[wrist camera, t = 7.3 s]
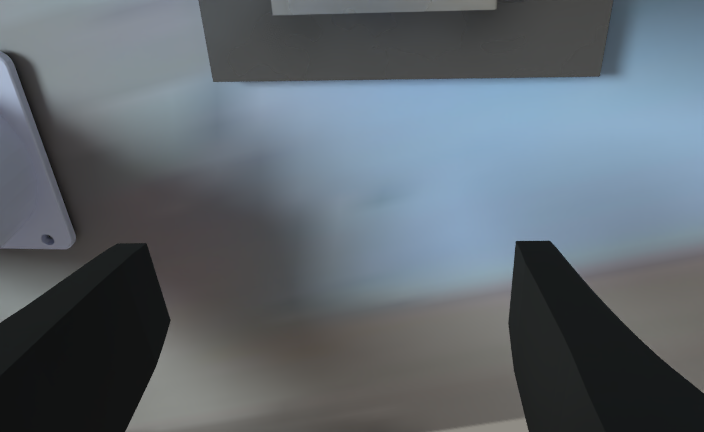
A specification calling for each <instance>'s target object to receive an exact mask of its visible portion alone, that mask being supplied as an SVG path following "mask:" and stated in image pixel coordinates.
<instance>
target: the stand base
mask: <svg viewBox="0 0 704 432" xmlns="http://www.w3.org/2000/svg"><path fill="white" fill-rule="evenodd" d="M612 5H613V0H497V9H495V10H462V11H423V12H384V13H345V14H306V15H273V13H272V5H271V0H199V6H200V11H201V17H202V22H203V28H204V33H205V39H206V44H207V50H208V55H209V61H210V67H211V72H212V78H213V82H238V81H310V80H381V79H453V78H524V77H595V76H600V72H601V66H602V61H603V55H604V50H605V44H606V38H607V33H608V27H609V21H610V16H611V10H612Z"/></svg>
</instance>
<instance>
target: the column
mask: <svg viewBox="0 0 704 432" xmlns="http://www.w3.org/2000/svg"><path fill="white" fill-rule="evenodd" d="M271 5H272V13H273V15H306V14H345V13H384V12H423V11H462V10H495V9H497V0H271Z"/></svg>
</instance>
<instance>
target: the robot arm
mask: <svg viewBox="0 0 704 432" xmlns="http://www.w3.org/2000/svg"><path fill="white" fill-rule="evenodd" d="M47 235H50V236H51V237H52V238H53V239H51V238H49V237H48V236H47ZM75 241H76V235H75V232H74V229H73V227H72V224H71V221H70V218H69V215H68V213H67V210H66V207H65V204H64V202H63V199H62V196H61V193H60V190H59V188H58V185H57V182H56V179H55V177H54V174H53V171H52V168H51V165H50V163H49V160H48V157H47V154H46V152H45V149H44V146H43V143H42V140H41V138H40V135H39V132H38V129H37V127H36V124H35V121H34V118H33V115H32V113H31V110H30V107H29V104H28V102H27V99H26V96H25V93H24V90H23V88H22V85H21V82H20V79H19V77H18V74H17V71H16V68H15V65H14V63H13V62H12V60H11V58H10V57H9V56H8V55H7V54H5V53H3V52H1V51H0V249H1V248H6V249H69V248H70V247H71V246H72V245H73V244H74V243H75ZM169 324H170V317H169V314H168V311H167V308H166V304H165V301H164V298H163V295H162V292H161V288H160V285H159V282H158V279H157V276H156V272H155V269H154V266H153V263H152V259H151V256H150V253H149V250H148V247H147V243H134V244H116V245H115V246H113V247H111V248H109V249H108V250H106V251H105V252H103V253H102V254H100V255H99V256H97V257H96V258H94V259H93V260H91V261H90V262H88V263H87V264H85V265H84V266H83V267H81V268H80V269H78V270H77V271H75V272H74V273H73V274H71V275H70V276H68V277H67V278H66V279H64V280H63V281H61V282H60V283H58V284H57V285H56V286H54V287H53V288H51V289H50V290H48V291H47V292H46V293H44V294H43V295H41V296H40V297H38V298H37V299H36V300H34V301H33V302H31V303H30V304H28V305H27V306H25V307H24V308H22V309H21V310H19V311H18V312H16V313H15V314H13V315H11V316H10V317H8V318H7V319H5V320H4V321H2V322H1V323H0V432H125V431H126V429H127V427H128V424H129V422H130V420H131V418H132V416H133V414H134V412H135V410H136V408H137V406H138V404H139V402H140V400H141V397H142V395H143V393H144V391H145V389H146V387H147V385H148V383H149V380H150V378H151V376H152V374H153V372H154V370H155V367H156V365H157V362H158V359H159V356H160V353H161V350H162V347H163V344H164V341H165V337H166V334H167V331H168V327H169ZM509 332H510V341H511V350H512V358H513V366H514V372H515V377H516V381H517V385H518V389H519V393H520V397H521V401H522V406H523V410H524V414H525V418H526V422H527V426H528V430H529V432H704V393H703V392H701V391H700V390H699V389H698V388H696V387H695V386H694V385H693V384H691V383H690V382H689V381H688V380H686V379H685V378H684V377H683V376H681V375H680V374H679V373H678V372H676V371H675V370H674V369H673V368H671V367H670V366H669V365H668V364H667V363H665V362H664V361H663V360H662V359H661V358H660V357H659V356H657V355H656V354H655V353H654V352H653V351H652V350H651V349H650V348H649V347H648V346H647V345H645V344H644V343H643V342H642V341H641V340H640V339H639V338H638V337H637V336H636V335H635V334H634V333H633V332H632V331H631V330H630V329H629V328H628V327H627V326H626V325H625V324H624V323H623V322H622V321H621V320H620V319H619V318H618V317H617V316H616V315H615V314H614V313H613V312H612V311H611V310H610V309H609V308H608V307H607V305H606V304H605V303H604V302H603V301H602V300H601V299H600V298H599V297H598V296H597V295H596V294H595V293H594V291H593V290H592V289H591V288H590V287H589V286H588V285H587V284H586V282H585V281H584V280H583V279H582V278H581V277H580V275H579V274H578V273H577V272H576V271H575V270H574V268H573V267H572V266H571V265H570V264H569V262H568V261H567V260H566V259H565V258H564V256H563V255H562V254H561V253H560V252H559V250H558V249H557V248H556V247H555V246H554V245H553V244H552V243H551V242H550V241H516V246H515V257H514V268H513V279H512V290H511V301H510V312H509Z"/></svg>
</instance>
